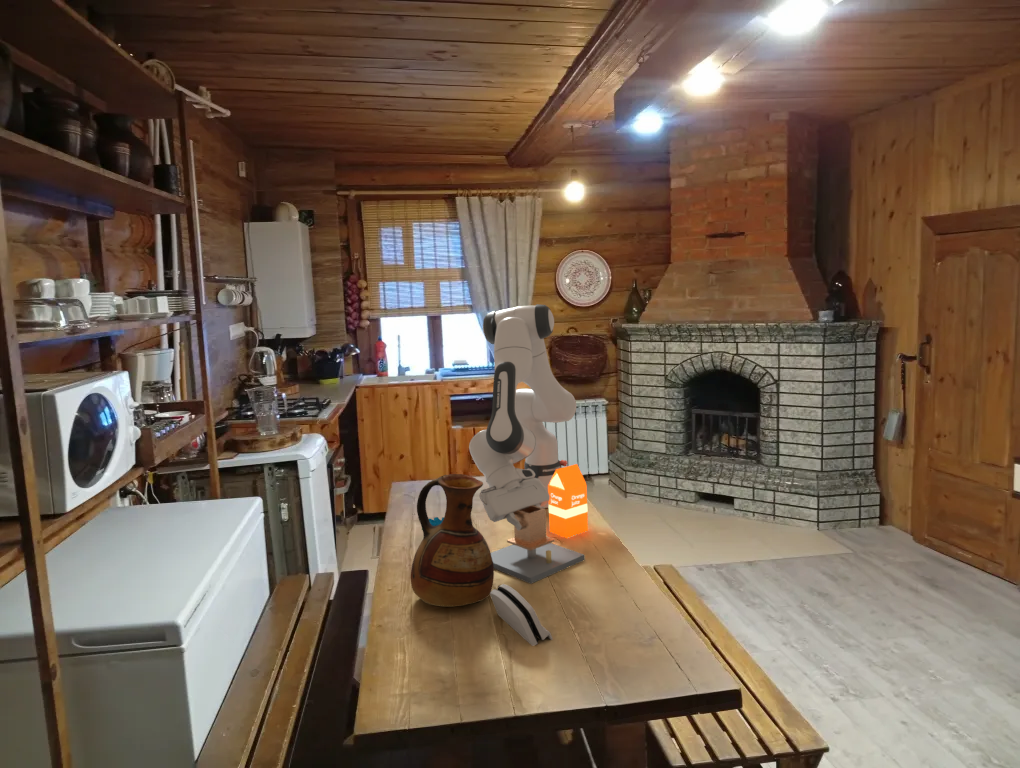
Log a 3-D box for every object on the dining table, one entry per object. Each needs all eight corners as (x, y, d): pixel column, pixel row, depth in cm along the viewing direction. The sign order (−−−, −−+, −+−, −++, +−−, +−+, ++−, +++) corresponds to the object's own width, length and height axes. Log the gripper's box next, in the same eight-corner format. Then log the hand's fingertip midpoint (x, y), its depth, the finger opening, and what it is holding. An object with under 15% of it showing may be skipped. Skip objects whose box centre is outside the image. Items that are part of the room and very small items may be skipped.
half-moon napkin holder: (553, 639, 146) (537, 601, 143) (535, 652, 144) (519, 614, 141) (516, 608, 160) (501, 573, 158) (499, 620, 159) (484, 584, 156)
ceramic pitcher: (484, 619, 156) (477, 490, 152) (399, 615, 160) (390, 489, 156) (503, 582, 175) (497, 466, 171) (426, 579, 179) (419, 466, 175)
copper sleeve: (531, 533, 193) (530, 502, 191) (554, 541, 186) (553, 508, 185) (507, 542, 187) (505, 509, 185) (530, 550, 180) (528, 517, 179)
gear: (463, 528, 211) (451, 513, 203) (461, 546, 207) (450, 532, 200) (429, 531, 213) (416, 517, 206) (427, 549, 210) (414, 535, 202)
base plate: (533, 541, 201) (532, 520, 200) (584, 559, 186) (583, 536, 186) (479, 562, 188) (478, 539, 187) (530, 583, 173) (529, 558, 172)
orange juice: (549, 531, 209) (546, 467, 206) (571, 524, 214) (568, 461, 211) (566, 538, 203) (564, 472, 200) (588, 531, 208) (586, 466, 205)
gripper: (481, 484, 182) (507, 529, 176) (537, 469, 196) (563, 509, 190) (471, 498, 186) (497, 541, 180) (527, 481, 200) (552, 521, 194)
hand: (531, 525), depth 185 cm, fingers closed on copper sleeve, 6 cm apart
